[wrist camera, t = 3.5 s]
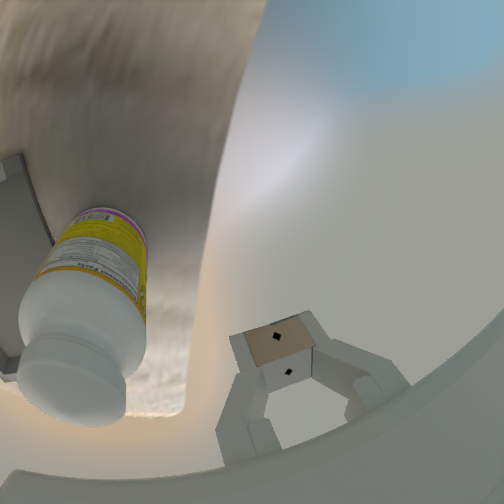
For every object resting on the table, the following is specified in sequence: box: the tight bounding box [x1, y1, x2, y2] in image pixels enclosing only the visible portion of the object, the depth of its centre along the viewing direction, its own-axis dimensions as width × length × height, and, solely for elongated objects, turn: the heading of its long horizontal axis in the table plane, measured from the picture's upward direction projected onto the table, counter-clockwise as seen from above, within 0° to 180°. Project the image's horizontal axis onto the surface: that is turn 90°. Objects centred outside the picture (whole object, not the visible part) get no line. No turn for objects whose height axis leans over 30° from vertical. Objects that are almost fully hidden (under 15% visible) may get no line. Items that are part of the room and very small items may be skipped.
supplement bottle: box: [16, 207, 147, 427], centre depth 13 cm, size 7×7×13 cm
